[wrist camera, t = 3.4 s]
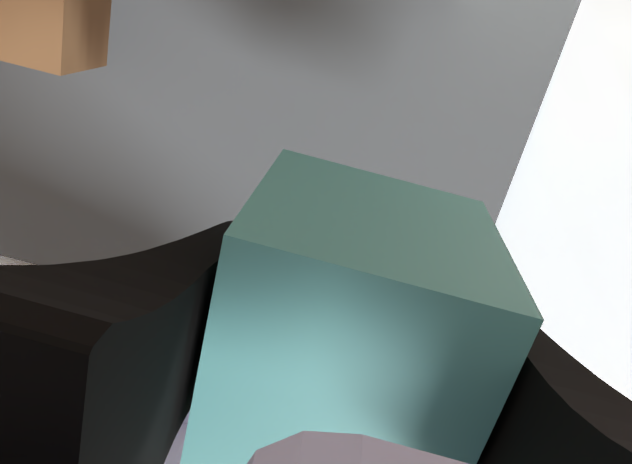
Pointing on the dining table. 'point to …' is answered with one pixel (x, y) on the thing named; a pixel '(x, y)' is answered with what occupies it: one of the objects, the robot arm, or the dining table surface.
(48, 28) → the walnut base
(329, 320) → the teal block
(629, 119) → the dining table surface
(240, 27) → the mat
